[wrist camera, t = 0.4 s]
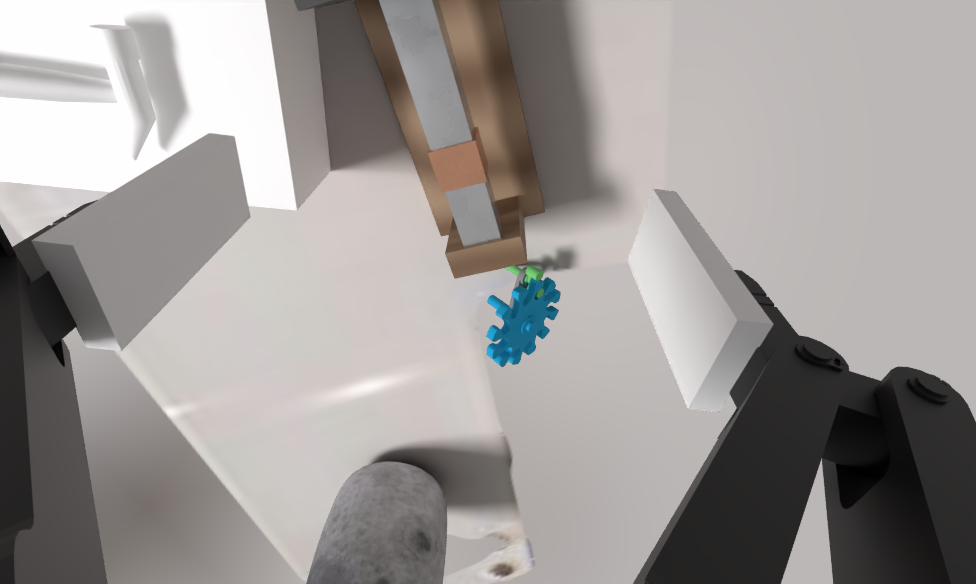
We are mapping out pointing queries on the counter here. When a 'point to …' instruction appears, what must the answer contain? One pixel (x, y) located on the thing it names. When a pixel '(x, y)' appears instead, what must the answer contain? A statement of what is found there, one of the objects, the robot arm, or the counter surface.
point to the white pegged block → (161, 91)
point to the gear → (522, 315)
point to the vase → (384, 529)
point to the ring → (314, 3)
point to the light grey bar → (444, 116)
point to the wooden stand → (492, 110)
